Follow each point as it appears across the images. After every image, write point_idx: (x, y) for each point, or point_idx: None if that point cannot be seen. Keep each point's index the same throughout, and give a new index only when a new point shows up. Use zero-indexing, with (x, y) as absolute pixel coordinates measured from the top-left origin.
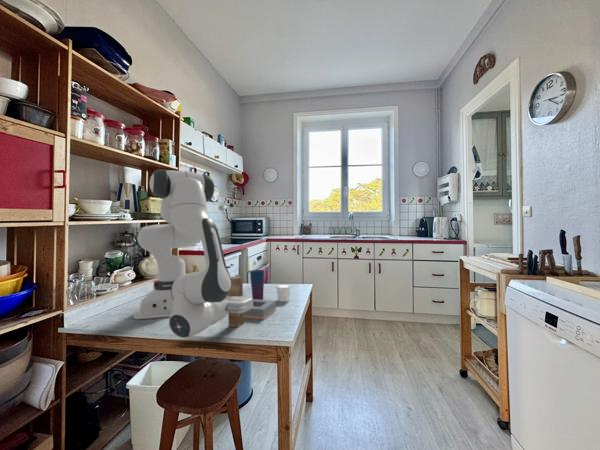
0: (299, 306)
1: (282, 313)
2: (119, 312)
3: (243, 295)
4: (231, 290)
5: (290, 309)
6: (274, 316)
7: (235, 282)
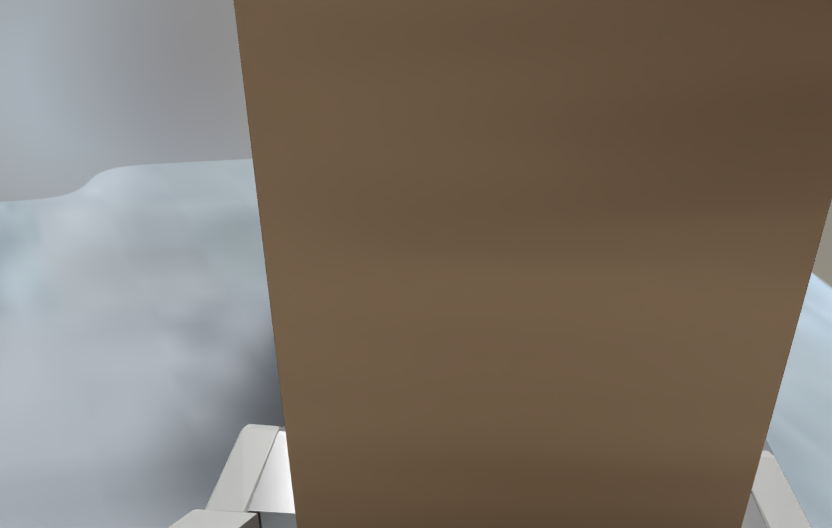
0: (814, 287)
1: (812, 417)
2: None
3: (783, 476)
4: (470, 432)
5: (797, 338)
6: (802, 495)
7: (781, 66)
